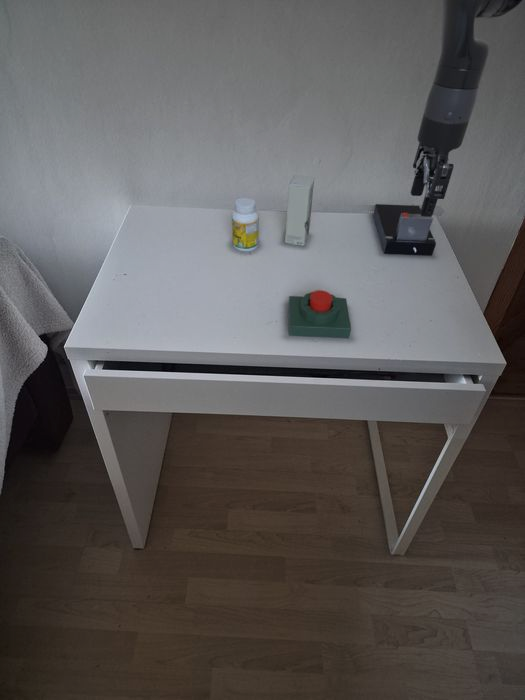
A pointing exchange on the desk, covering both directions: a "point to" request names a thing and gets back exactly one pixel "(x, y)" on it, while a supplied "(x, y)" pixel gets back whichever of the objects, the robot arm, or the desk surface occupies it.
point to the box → (299, 210)
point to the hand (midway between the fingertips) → (420, 205)
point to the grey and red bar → (413, 227)
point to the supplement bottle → (245, 225)
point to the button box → (318, 318)
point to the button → (320, 301)
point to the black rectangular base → (387, 227)
